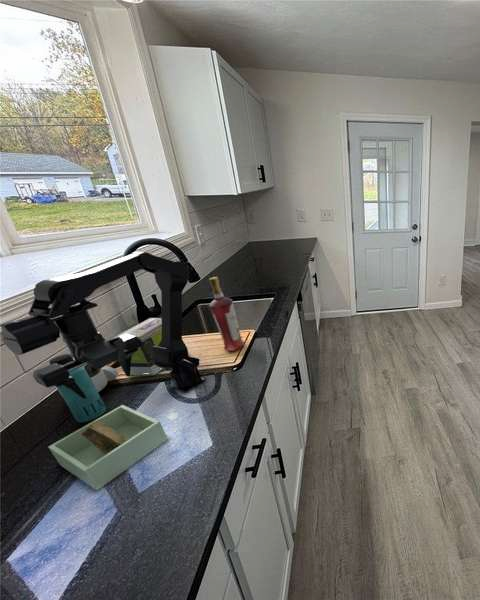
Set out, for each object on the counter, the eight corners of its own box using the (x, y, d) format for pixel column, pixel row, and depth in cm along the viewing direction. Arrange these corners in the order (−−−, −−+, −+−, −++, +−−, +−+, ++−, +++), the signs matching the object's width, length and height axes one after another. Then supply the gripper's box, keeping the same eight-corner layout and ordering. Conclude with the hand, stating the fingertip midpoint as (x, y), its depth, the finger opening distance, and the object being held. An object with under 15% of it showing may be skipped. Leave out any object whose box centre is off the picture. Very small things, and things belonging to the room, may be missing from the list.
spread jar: (62, 407, 92) (42, 375, 87) (78, 386, 101) (60, 356, 97) (114, 393, 97) (97, 361, 92) (123, 374, 106) (109, 345, 102)
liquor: (228, 344, 121) (207, 275, 111) (248, 342, 122) (228, 273, 111) (221, 354, 115) (197, 282, 104) (241, 352, 115) (219, 280, 104)
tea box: (164, 351, 119) (150, 316, 113) (187, 352, 118) (174, 316, 112) (127, 375, 105) (109, 337, 100) (153, 376, 104) (136, 338, 98)
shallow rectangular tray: (131, 421, 85) (122, 404, 83) (168, 439, 78) (159, 421, 76) (60, 465, 73) (47, 446, 70) (96, 490, 66) (84, 471, 64)
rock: (84, 437, 76) (65, 463, 67) (100, 405, 76) (83, 427, 68) (137, 444, 81) (125, 469, 73) (152, 414, 82) (142, 435, 73)
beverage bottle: (90, 428, 83) (54, 365, 75) (71, 426, 85) (33, 363, 77) (115, 411, 89) (83, 351, 81) (97, 409, 90) (64, 349, 83)
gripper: (38, 359, 61) (75, 421, 67) (143, 319, 77) (165, 372, 83) (15, 349, 66) (52, 408, 72) (118, 313, 81) (141, 364, 87)
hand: (107, 386), depth 78 cm, fingers open, 9 cm apart
